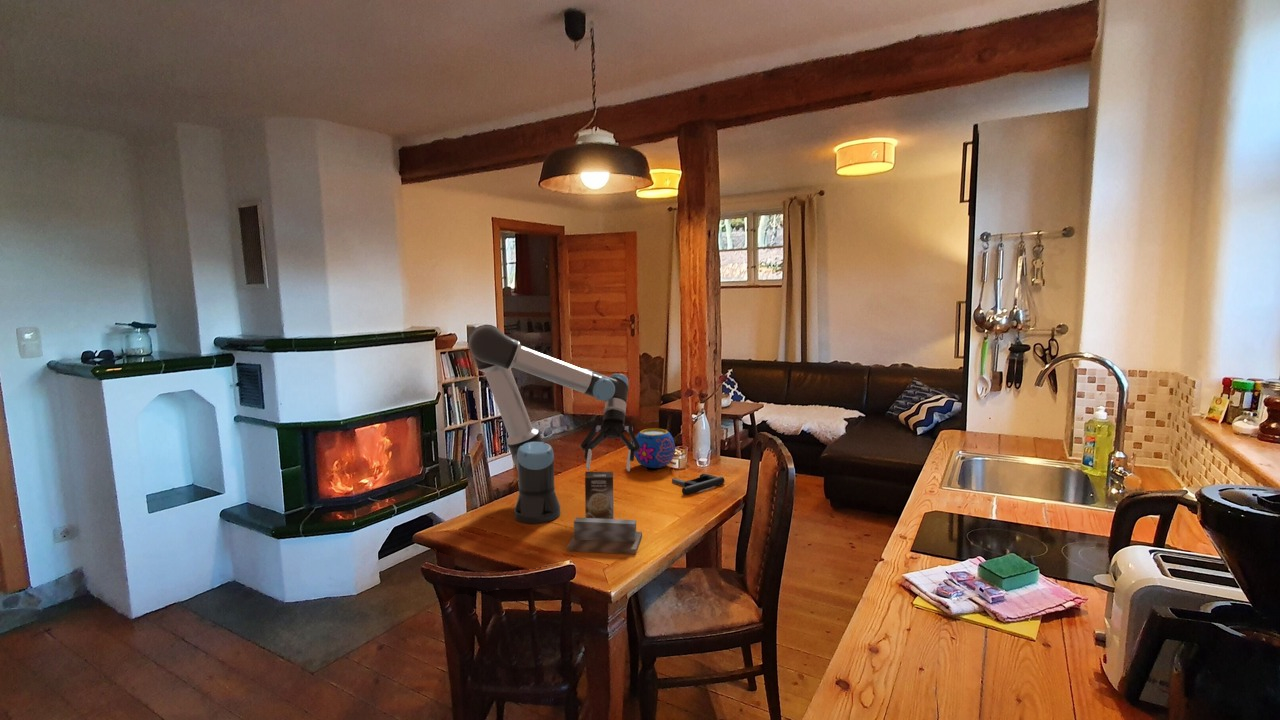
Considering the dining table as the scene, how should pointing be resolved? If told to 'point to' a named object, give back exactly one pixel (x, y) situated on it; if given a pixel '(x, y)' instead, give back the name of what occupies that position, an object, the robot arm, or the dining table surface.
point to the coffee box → (599, 495)
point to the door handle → (699, 483)
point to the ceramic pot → (654, 448)
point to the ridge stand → (605, 536)
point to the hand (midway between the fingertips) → (607, 468)
